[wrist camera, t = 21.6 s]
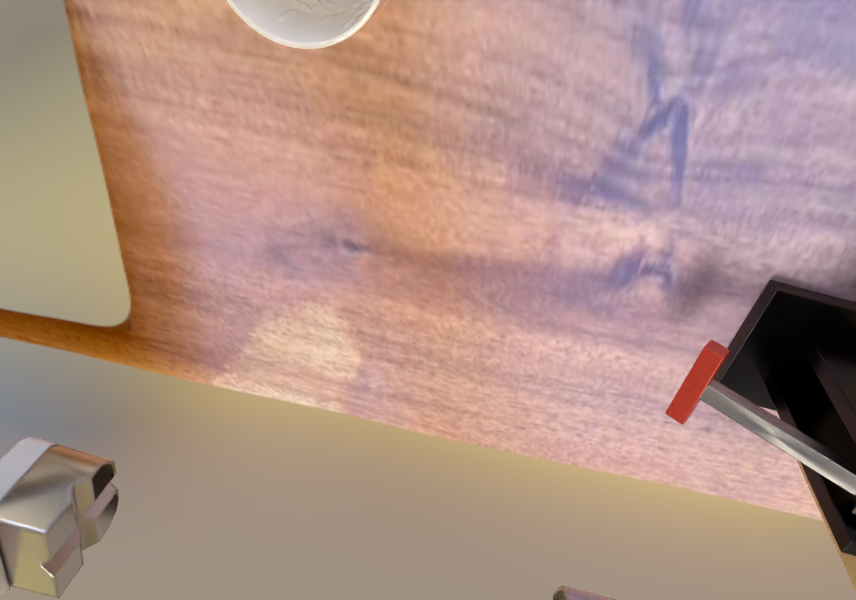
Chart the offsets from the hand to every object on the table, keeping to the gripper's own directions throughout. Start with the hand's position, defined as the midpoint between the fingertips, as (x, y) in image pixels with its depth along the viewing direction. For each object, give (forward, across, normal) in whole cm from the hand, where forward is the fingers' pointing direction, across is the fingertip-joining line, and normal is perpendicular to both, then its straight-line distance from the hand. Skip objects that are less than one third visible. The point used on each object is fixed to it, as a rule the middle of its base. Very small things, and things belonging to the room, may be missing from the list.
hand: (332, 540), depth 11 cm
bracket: (+31, -26, +11) cm, 42 cm away
